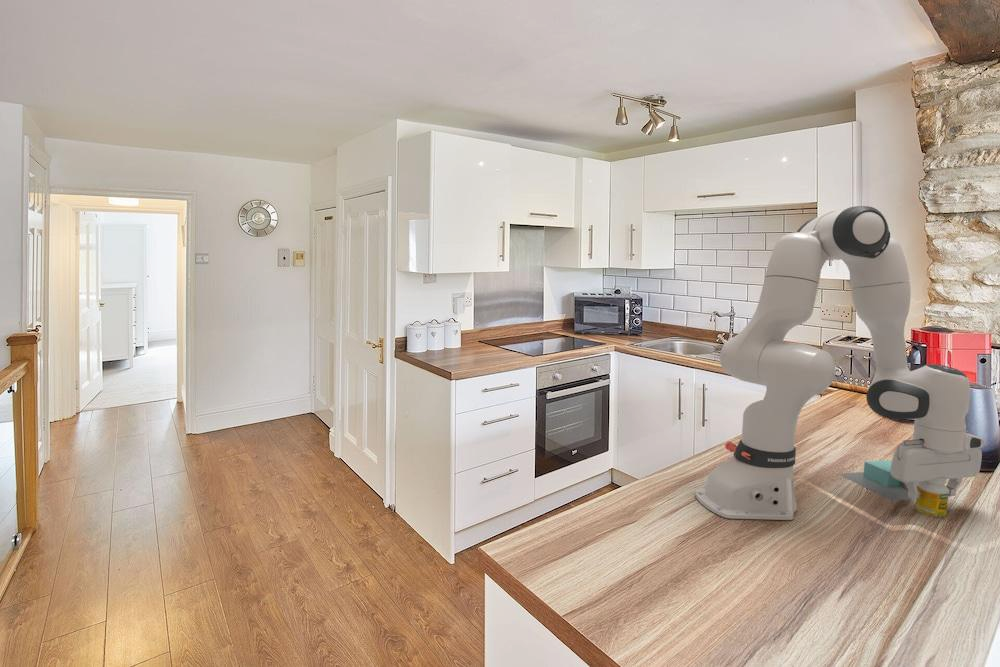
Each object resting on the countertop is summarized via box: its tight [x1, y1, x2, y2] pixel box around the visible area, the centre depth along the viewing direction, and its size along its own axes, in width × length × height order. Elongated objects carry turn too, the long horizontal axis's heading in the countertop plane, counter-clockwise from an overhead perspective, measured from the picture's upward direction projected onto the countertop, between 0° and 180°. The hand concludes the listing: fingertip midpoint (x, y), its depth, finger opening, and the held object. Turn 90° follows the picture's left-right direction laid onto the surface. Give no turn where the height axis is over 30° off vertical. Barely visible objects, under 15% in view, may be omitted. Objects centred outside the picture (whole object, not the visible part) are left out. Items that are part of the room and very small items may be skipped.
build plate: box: [838, 471, 912, 502], centre depth 132 cm, size 16×16×1 cm
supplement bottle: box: [915, 477, 949, 518], centre depth 117 cm, size 5×5×10 cm
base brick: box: [863, 459, 904, 487], centre depth 134 cm, size 7×7×4 cm
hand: (931, 496), depth 118 cm, fingers open, 8 cm apart
